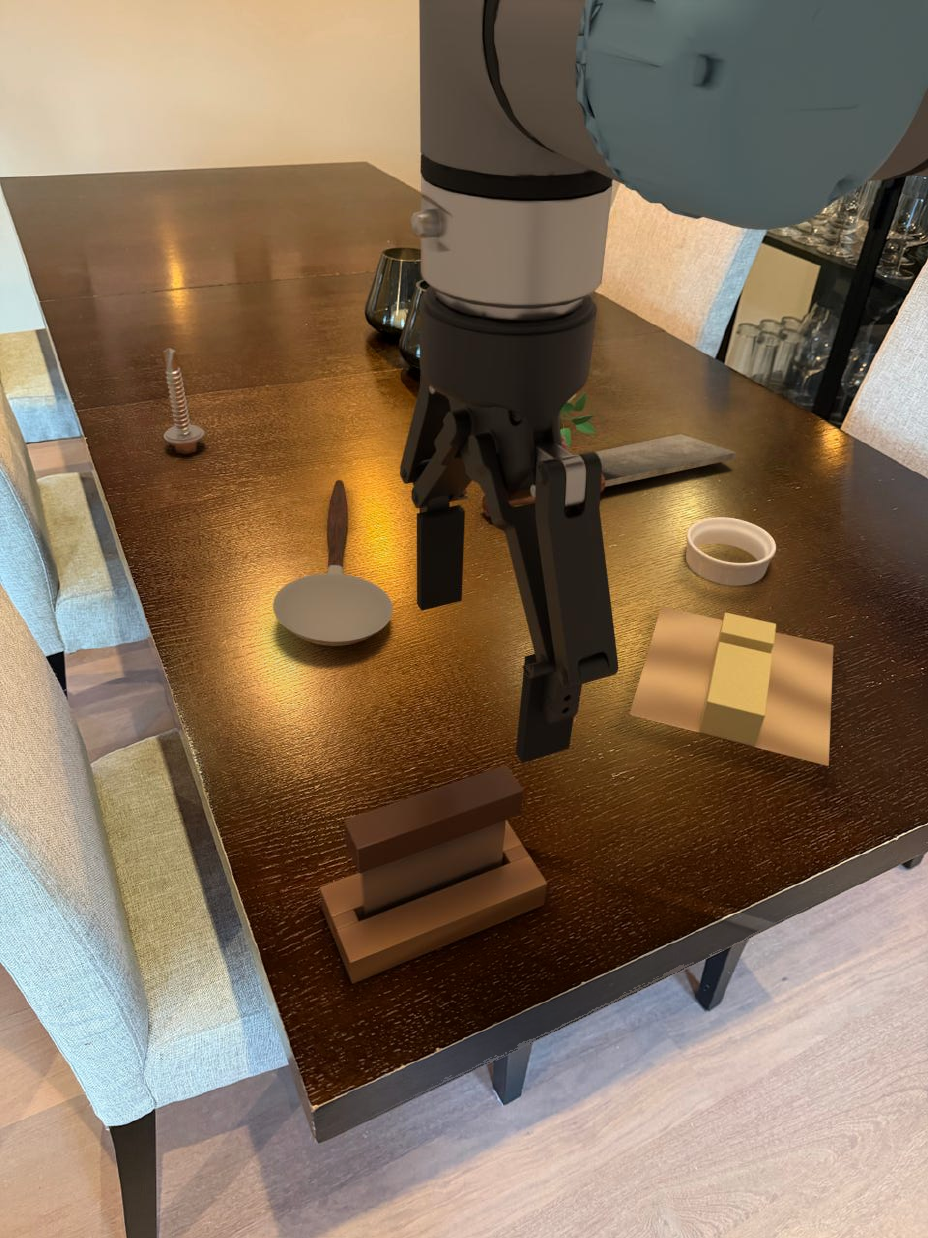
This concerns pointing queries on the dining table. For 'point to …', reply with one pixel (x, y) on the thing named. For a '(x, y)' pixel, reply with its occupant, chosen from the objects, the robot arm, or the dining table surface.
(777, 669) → the butter board
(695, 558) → the white ring
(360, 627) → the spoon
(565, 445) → the carnation
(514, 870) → the block
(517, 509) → the robot arm
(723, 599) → the dining table surface
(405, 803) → the dough scraper
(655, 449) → the meat cleaver
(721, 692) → the butter stick
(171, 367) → the screw
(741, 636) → the butter pat
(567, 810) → the dining table surface
